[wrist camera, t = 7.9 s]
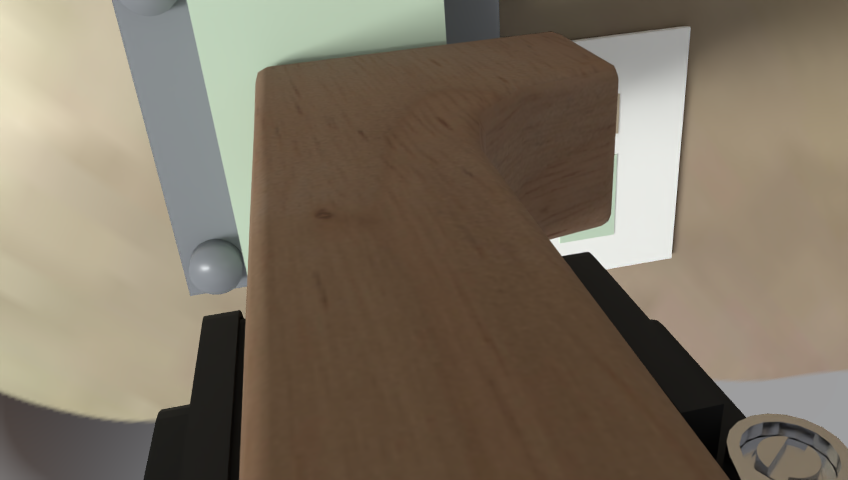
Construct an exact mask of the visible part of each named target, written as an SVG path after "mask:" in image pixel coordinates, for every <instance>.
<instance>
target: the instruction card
mask: <svg viewBox="0 0 848 480" xmlns="http://www.w3.org/2000/svg"><path fill="white" fill-rule="evenodd" d="M690 30H691V27H689V26H681V27H673V28H665V29H657V30H649V31H641V32H633V33H626V34H618V35H610V36H602V37H594V38H586V39H578V40H571V41H573V42H574V43H576V44H578V45H579V46H581V47H583V48H585V49H586V50H588V51H590V52H592V53H593V54H595V55H597V56H598V57H600V58H602V59H604V60H605V61H607V62H609V63H610V64H612V65H614V67H615V69H616V72H617V74H618V79H619V82H618V100H617V118H616V136H615V154H614V172H613V190H612V208H611V216H610V218H609V221H608V222H607V223H605V224H603V225H602V226H599V227H595V228H592V229H588V230H584V231H580V232H577V233H573V234H569V235H565V236H562V237H558V238H554V239H551V240H550V241H551V242H552V244H553V245H554V246H555V248H556V249H557V250H558V252H559V253H560V254H561V256H565V255H571V254H577V253H583V252H590V253H591V254H592V255H593V256H594V257H595V258H596V259H597V260H598V261H599V263H600V264H601V265H602V266H603V267H604V268H605V269H611V268H617V267H623V266H628V265H634V264H640V263H645V262H651V261H657V260H663V259H668V258H671V255H672V243H673V231H674V219H675V208H676V196H677V184H678V172H679V160H680V148H681V136H682V124H683V113H684V101H685V89H686V77H687V65H688V53H689V41H690Z"/></svg>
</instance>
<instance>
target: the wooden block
mask: <svg viewBox="0 0 848 480" xmlns="http://www.w3.org/2000/svg"><path fill="white" fill-rule="evenodd" d="M618 82H619V79H618V74H617V72H616V69H615V67H614V65H612V64H610V63H609V62H607V61H605V60H604V59H602V58H600V57H598V56H597V55H595V54H593V53H592V52H590V51H588V50H586V49H585V48H583V47H581V46H579V45H578V44H576V43H574V42H573V41H571V40H569V39H567V38H566V37H564V36H562V35H560V34H557V33H554V32H543V33H535V34H527V35H519V36H511V37H502V38H494V39H486V40H478V41H470V42H462V43H454V44H446V45H438V46H430V47H421V48H413V49H405V50H397V51H389V52H381V53H373V54H365V55H357V56H349V57H341V58H333V59H325V60H317V61H309V62H301V63H293V64H285V65H277V66H269V67H266V68H264V69H263V70H261V71H259V72H258V73H257V78H256V82H255V111H254V139H253V161H252V182H251V204H250V226H249V251H248V275H247V299H246V324H245V348H244V372H243V397H242V421H241V446H240V470H239V480H730V479H729V478H728V476H727V475H726V474H725V472H724V471H723V470H722V468H721V467H720V466H719V464H718V463H717V462H716V460H715V459H714V458H713V456H712V455H711V454H710V452H709V451H708V450H707V448H706V447H705V446H704V444H703V443H702V442H701V441H700V439H699V438H698V437H697V435H696V434H695V433H694V431H693V430H692V429H691V427H690V426H689V425H688V423H687V422H686V421H685V419H684V418H683V417H682V415H681V414H680V413H679V411H678V410H677V409H676V407H675V406H674V405H673V403H672V402H671V401H670V399H669V398H668V397H667V395H666V394H665V393H664V391H663V390H662V389H661V387H660V386H659V385H658V383H657V382H656V381H655V379H654V378H653V377H652V375H651V374H650V373H649V371H648V370H647V369H646V367H645V366H644V365H643V363H642V362H641V361H640V359H639V358H638V357H637V355H636V354H635V353H634V351H633V350H632V349H631V347H630V346H629V345H628V343H627V342H626V341H625V339H624V338H623V337H622V335H621V334H620V333H619V331H618V330H617V329H616V327H615V326H614V325H613V323H612V322H611V321H610V320H609V318H608V317H607V316H606V314H605V313H604V312H603V310H602V309H601V308H600V306H599V305H598V304H597V302H596V301H595V300H594V298H593V297H592V296H591V294H590V293H589V292H588V290H587V289H586V288H585V286H584V285H583V284H582V282H581V281H580V280H579V278H578V277H577V276H576V274H575V273H574V272H573V270H572V269H571V268H570V266H569V265H568V264H567V262H566V261H565V260H564V258H563V257H562V256H561V254H560V253H559V252H558V250H557V249H556V248H555V246H554V245H553V244H552V242H551V241H550V240H551V239H554V238H558V237H562V236H565V235H569V234H573V233H577V232H580V231H584V230H588V229H592V228H595V227H599V226H602V225H603V224H605V223H607V222H608V221H609V218H610V216H611V208H612V190H613V172H614V154H615V136H616V118H617V100H618Z"/></svg>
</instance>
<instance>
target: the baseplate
mask: <svg viewBox="0 0 848 480" xmlns="http://www.w3.org/2000/svg"><path fill="white" fill-rule="evenodd" d="M112 3H113V6H114V10H115V14H116V18H117V21H118V25H119V29H120V33H121V36H122V40H123V44H124V48H125V51H126V55H127V59H128V63H129V67H130V70H131V74H132V78H133V82H134V85H135V89H136V93H137V97H138V100H139V104H140V108H141V112H142V115H143V119H144V123H145V127H146V131H147V134H148V138H149V142H150V146H151V149H152V153H153V157H154V161H155V164H156V168H157V172H158V176H159V179H160V183H161V187H162V191H163V195H164V198H165V202H166V206H167V210H168V213H169V217H170V221H171V225H172V228H173V232H174V236H175V240H176V244H177V247H178V251H179V255H180V259H181V262H182V266H183V270H184V274H185V277H186V281H187V285H188V289H189V292H190V296H192V295H198V294H204V293H208V294H223V293H227V292H229V291H231V290H232V289H234V288H240V287H246V286H247V275H248V251H249V226H250V204H251V182H252V161H253V139H254V111H255V82H256V78H257V73H258V72H259V71H261V70H263V69H264V68H266V67H269V66H277V65H285V64H293V63H301V62H309V61H317V60H325V59H333V58H341V57H349V56H357V55H365V54H373V53H381V52H389V51H397V50H405V49H413V48H421V47H430V46H438V45H446V44H454V43H462V42H470V41H478V40H486V39H494V38H500V19H499V0H112Z"/></svg>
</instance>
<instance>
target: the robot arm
mask: <svg viewBox="0 0 848 480" xmlns="http://www.w3.org/2000/svg"><path fill="white" fill-rule="evenodd" d="M562 257H563V258H564V260H565V261H566V262H567V264H568V265H569V266H570V268H571V269H572V270H573V272H574V273H575V274H576V276H577V277H578V278H579V280H580V281H581V282H582V284H583V285H584V286H585V288H586V289H587V290H588V292H589V293H590V294H591V296H592V297H593V298H594V300H595V301H596V302H597V304H598V305H599V306H600V308H601V309H602V310H603V312H604V313H605V314H606V316H607V317H608V318H609V320H610V321H611V322H612V323H613V325H614V326H615V327H616V329H617V330H618V331H619V333H620V334H621V335H622V337H623V338H624V339H625V341H626V342H627V343H628V345H629V346H630V347H631V349H632V350H633V351H634V353H635V354H636V355H637V357H638V358H639V359H640V361H641V362H642V363H643V365H644V366H645V367H646V369H647V370H648V371H649V373H650V374H651V375H652V377H653V378H654V379H655V381H656V382H657V383H658V385H659V386H660V387H661V389H662V390H663V391H664V393H665V394H666V395H667V397H668V398H669V399H670V401H671V402H672V403H673V405H674V406H675V407H676V409H677V410H678V411H679V413H680V414H681V415H682V417H683V418H684V419H685V421H686V422H687V423H688V425H689V426H690V427H691V429H692V430H693V431H694V433H695V434H696V435H697V437H698V438H699V439H700V441H701V442H702V443H703V444H704V446H705V447H706V448H707V450H708V451H709V452H710V454H711V455H712V456H713V458H714V459H715V460H716V462H717V463H718V464H719V466H720V467H721V468H722V470H723V471H724V472H725V474H726V475H727V476H728V478H729V479H730V480H848V448H847V447H846V446H845V445H844V444H843V443H842V442H841V441H840V440H839V438H837V437H836V436H834V435H833V434H831V433H830V432H828V431H827V430H825V429H824V428H822V427H820V426H818V425H816V424H813V423H811V422H809V421H807V420H804V419H800V418H796V417H792V416H788V415H780V414H761V415H754V416H750V417H747V418H746V417H745V416H744V414H742V412H741V411H740V410H739V409H738V408H737V407H736V406H735V405H734V403H733V402H732V401H731V400H730V399H729V398H728V397H727V396H726V395H725V394H724V392H723V391H722V390H721V389H720V388H719V387H718V386H717V385H716V383H715V382H714V381H713V380H712V379H711V378H710V377H709V376H708V375H707V373H706V372H705V371H704V370H703V369H702V368H701V367H700V366H699V365H698V363H697V362H696V361H695V360H694V359H693V358H692V357H691V356H690V355H689V353H688V352H687V351H686V350H685V349H684V348H683V347H682V346H681V345H680V343H679V342H678V341H677V340H676V339H675V338H674V337H673V336H672V335H671V333H670V332H669V331H668V330H667V329H666V328H665V327H664V326H663V325H662V324H661V323H660V322H658V321H657V320H652V319H651V320H650V319H649V318H648V317H647V316H646V315H645V314H644V312H643V311H642V310H641V309H640V308H639V307H638V306H637V304H636V303H635V302H634V301H633V300H632V299H631V298H630V297H629V295H628V294H627V293H626V292H625V291H624V290H623V289H622V287H621V286H620V285H619V284H618V283H617V282H616V281H615V280H614V278H613V277H612V276H611V275H610V274H609V273H608V272H607V270H606V269H605V268H604V267H603V266H602V265H601V264H600V263H599V261H598V260H597V259H596V258H595V257H594V256H593V255H592V254H591V253H590V252H583V253H577V254H571V255H565V256H562ZM245 324H246V319H244V318H243V315H242V312H241V311H240V310H238V311H232V312H227V313H221V314H215V315H209V316H204V317H203V321H202V328H201V335H200V341H199V348H198V355H197V361H196V368H195V375H194V381H193V388H192V395H191V401H190V404H189V405H184V406H178V407H173V408H168V409H162V410H161V411H160V412H159V413H158V416H157V419H156V423H155V428H154V433H153V437H152V442H151V447H150V451H149V456H148V461H147V466H146V471H145V475H144V480H239V470H240V446H241V421H242V397H243V372H244V348H245Z"/></svg>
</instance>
